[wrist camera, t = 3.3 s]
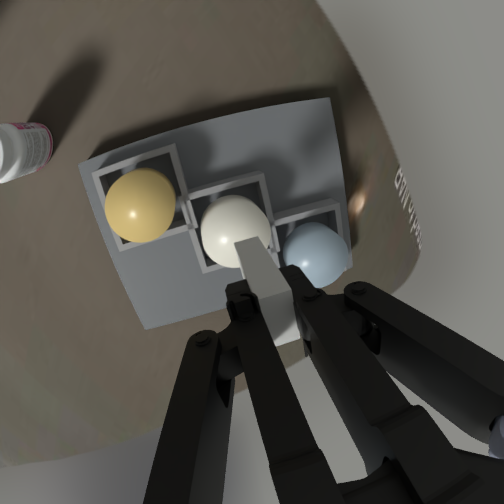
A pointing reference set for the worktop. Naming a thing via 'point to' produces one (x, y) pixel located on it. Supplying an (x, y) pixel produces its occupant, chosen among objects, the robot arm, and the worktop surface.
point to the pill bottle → (23, 149)
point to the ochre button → (140, 205)
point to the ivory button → (232, 227)
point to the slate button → (316, 253)
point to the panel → (218, 185)
